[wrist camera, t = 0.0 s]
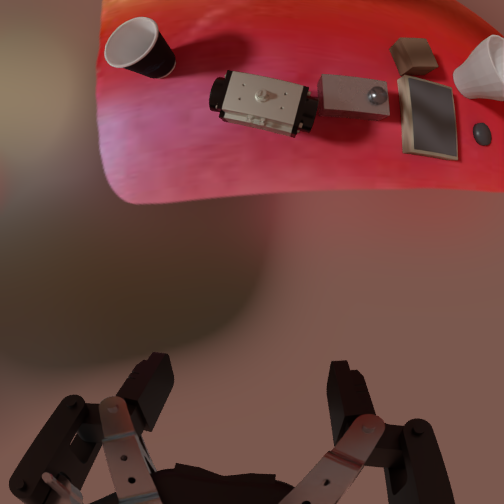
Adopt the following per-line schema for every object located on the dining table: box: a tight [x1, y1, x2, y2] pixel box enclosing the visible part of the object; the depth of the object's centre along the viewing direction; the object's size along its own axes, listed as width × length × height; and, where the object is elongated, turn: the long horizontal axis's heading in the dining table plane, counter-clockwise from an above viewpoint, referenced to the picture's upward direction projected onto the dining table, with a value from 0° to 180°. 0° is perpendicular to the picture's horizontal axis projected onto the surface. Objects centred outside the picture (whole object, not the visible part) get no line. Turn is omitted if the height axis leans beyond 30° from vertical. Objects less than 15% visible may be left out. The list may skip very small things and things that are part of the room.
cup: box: [453, 35, 504, 101], centre depth 22 cm, size 10×10×14 cm
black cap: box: [473, 123, 491, 145], centre depth 31 cm, size 4×4×2 cm
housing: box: [317, 74, 390, 121], centre depth 31 cm, size 9×5×6 cm, turn 91°
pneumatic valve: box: [209, 70, 319, 138], centre depth 30 cm, size 6×12×12 cm, turn 76°
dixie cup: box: [105, 17, 176, 78], centre depth 29 cm, size 8×8×11 cm
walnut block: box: [389, 38, 438, 76], centre depth 28 cm, size 5×5×5 cm
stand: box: [397, 75, 458, 160], centre depth 31 cm, size 12×9×3 cm
